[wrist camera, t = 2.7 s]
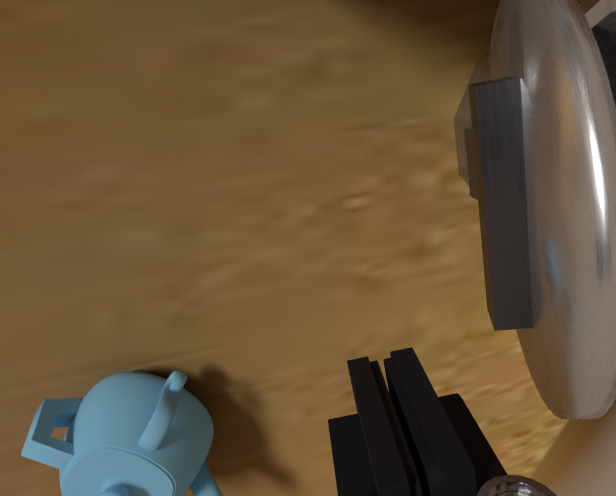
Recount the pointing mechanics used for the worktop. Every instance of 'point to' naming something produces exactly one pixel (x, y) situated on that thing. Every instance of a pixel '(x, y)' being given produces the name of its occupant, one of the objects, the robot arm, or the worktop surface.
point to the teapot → (127, 438)
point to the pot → (606, 29)
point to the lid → (550, 200)
